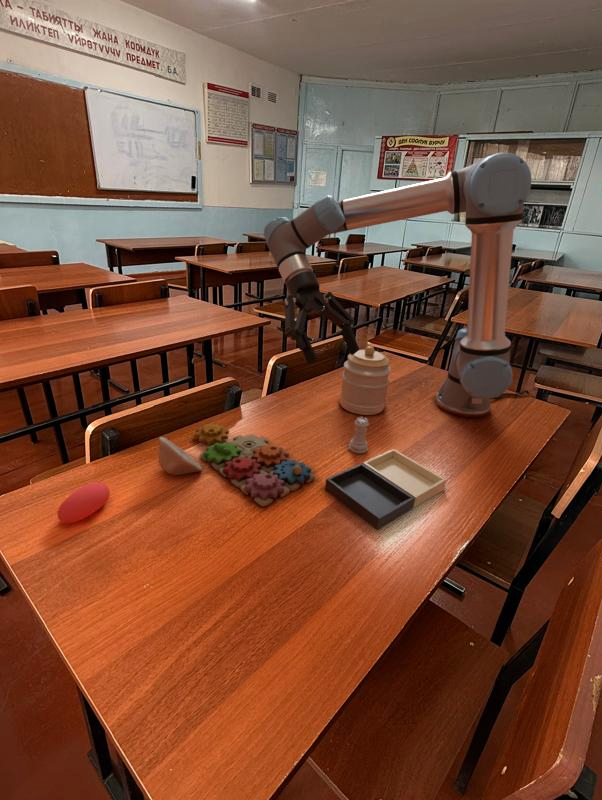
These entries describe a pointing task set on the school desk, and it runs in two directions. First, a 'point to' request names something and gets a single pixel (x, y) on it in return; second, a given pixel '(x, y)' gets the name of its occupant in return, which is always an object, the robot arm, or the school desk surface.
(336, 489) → the dark tray
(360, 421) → the rook chess piece
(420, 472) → the light tray
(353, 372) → the jar
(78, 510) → the stress ball
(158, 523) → the school desk surface
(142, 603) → the school desk surface
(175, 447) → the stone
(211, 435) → the gear puzzle
